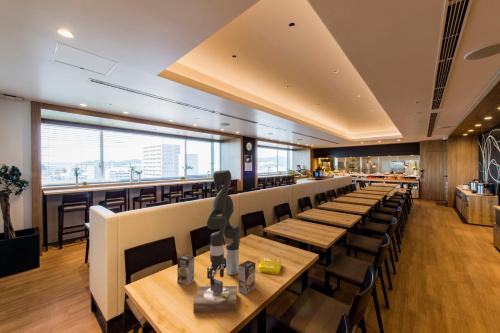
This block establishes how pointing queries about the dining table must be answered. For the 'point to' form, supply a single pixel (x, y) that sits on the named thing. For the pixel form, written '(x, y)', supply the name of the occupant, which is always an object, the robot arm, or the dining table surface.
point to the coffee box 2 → (246, 277)
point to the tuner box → (215, 300)
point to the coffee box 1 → (185, 269)
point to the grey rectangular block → (217, 288)
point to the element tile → (270, 266)
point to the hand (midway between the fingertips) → (217, 280)
